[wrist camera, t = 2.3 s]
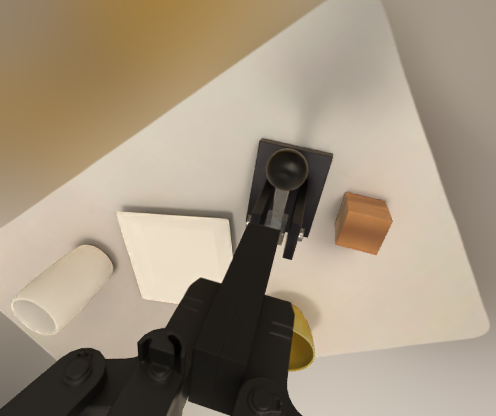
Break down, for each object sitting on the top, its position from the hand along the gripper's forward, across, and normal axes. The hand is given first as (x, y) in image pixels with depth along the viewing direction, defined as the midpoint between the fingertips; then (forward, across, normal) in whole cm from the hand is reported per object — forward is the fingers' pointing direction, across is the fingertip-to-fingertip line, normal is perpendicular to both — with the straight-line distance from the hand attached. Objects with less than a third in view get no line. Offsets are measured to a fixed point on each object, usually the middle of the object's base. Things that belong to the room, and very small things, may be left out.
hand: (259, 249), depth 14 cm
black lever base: (+25, 0, -8) cm, 27 cm away
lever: (+14, 0, -3) cm, 14 cm away
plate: (+26, -14, -25) cm, 39 cm away
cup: (+26, -31, -31) cm, 51 cm away
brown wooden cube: (+25, +10, -9) cm, 29 cm away
